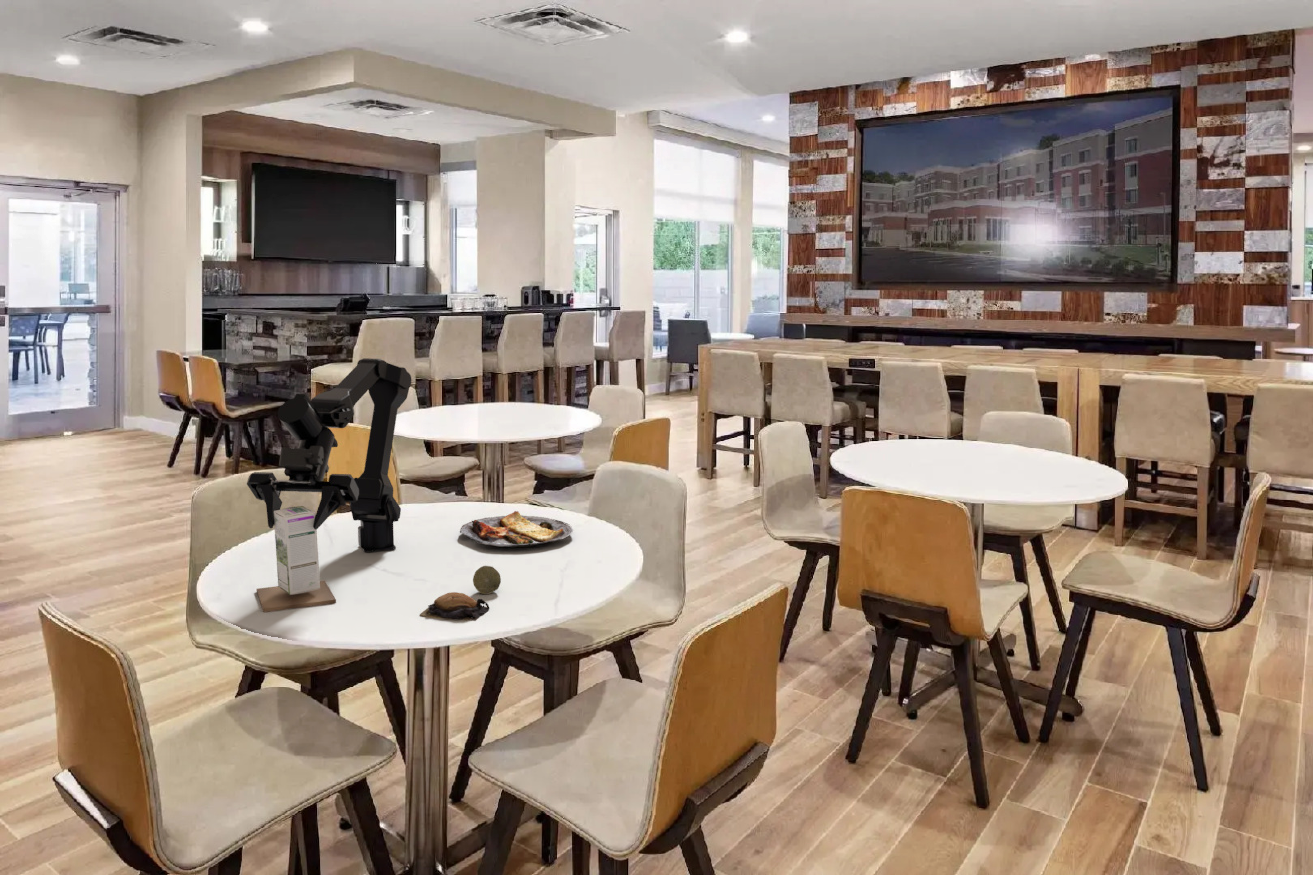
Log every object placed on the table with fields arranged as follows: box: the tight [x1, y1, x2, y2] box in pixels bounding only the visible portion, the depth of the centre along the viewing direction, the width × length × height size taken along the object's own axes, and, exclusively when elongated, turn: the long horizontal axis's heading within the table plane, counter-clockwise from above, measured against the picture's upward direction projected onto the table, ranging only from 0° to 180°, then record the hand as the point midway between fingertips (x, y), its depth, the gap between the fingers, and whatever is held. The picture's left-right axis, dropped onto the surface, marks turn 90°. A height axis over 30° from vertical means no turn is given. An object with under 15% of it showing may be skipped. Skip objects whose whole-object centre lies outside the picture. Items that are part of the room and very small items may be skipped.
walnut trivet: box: [256, 580, 337, 613], centre depth 177 cm, size 12×12×1 cm
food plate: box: [459, 510, 574, 548], centre depth 221 cm, size 25×23×4 cm
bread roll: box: [419, 591, 490, 621], centre depth 171 cm, size 11×8×4 cm
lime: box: [472, 565, 502, 595], centre depth 181 cm, size 4×5×5 cm
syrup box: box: [273, 505, 321, 595], centre depth 176 cm, size 6×6×14 cm
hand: (292, 527), depth 174 cm, fingers closed on syrup box, 8 cm apart
